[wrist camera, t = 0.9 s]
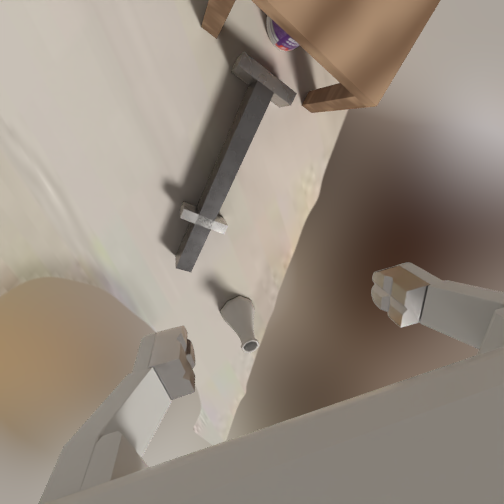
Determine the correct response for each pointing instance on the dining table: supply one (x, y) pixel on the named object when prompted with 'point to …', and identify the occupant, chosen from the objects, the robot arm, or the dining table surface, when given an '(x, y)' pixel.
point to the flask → (241, 321)
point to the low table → (344, 41)
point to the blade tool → (230, 156)
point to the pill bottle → (280, 37)
